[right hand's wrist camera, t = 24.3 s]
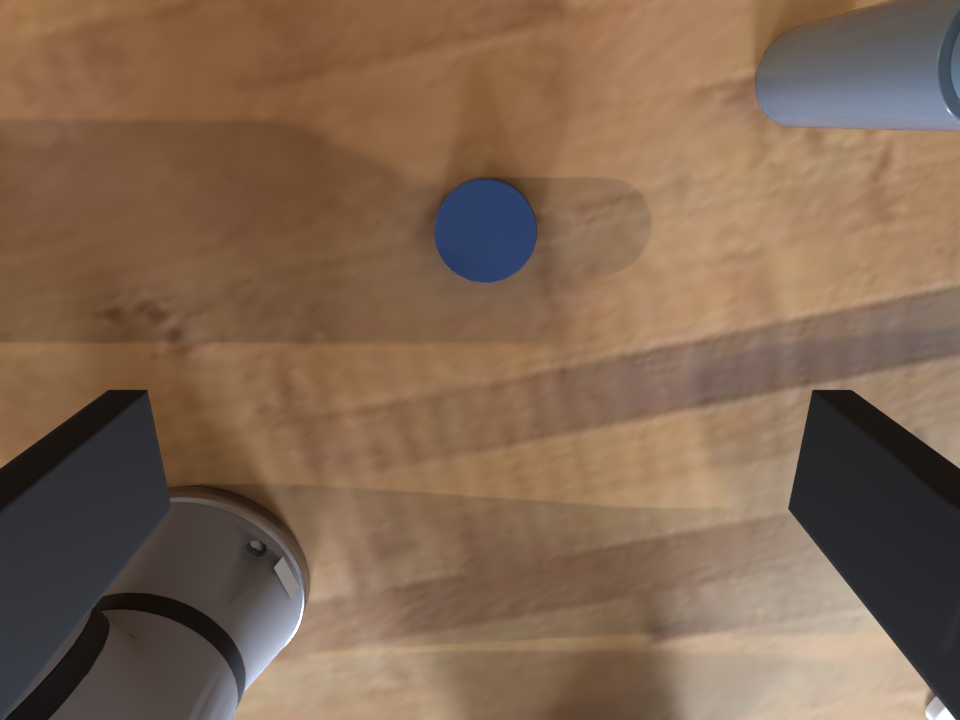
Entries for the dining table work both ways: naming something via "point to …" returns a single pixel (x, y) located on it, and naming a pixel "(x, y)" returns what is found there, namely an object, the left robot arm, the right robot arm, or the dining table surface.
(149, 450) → the right robot arm
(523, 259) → the lid
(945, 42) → the jar
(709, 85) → the dining table surface
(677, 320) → the dining table surface
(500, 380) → the dining table surface
